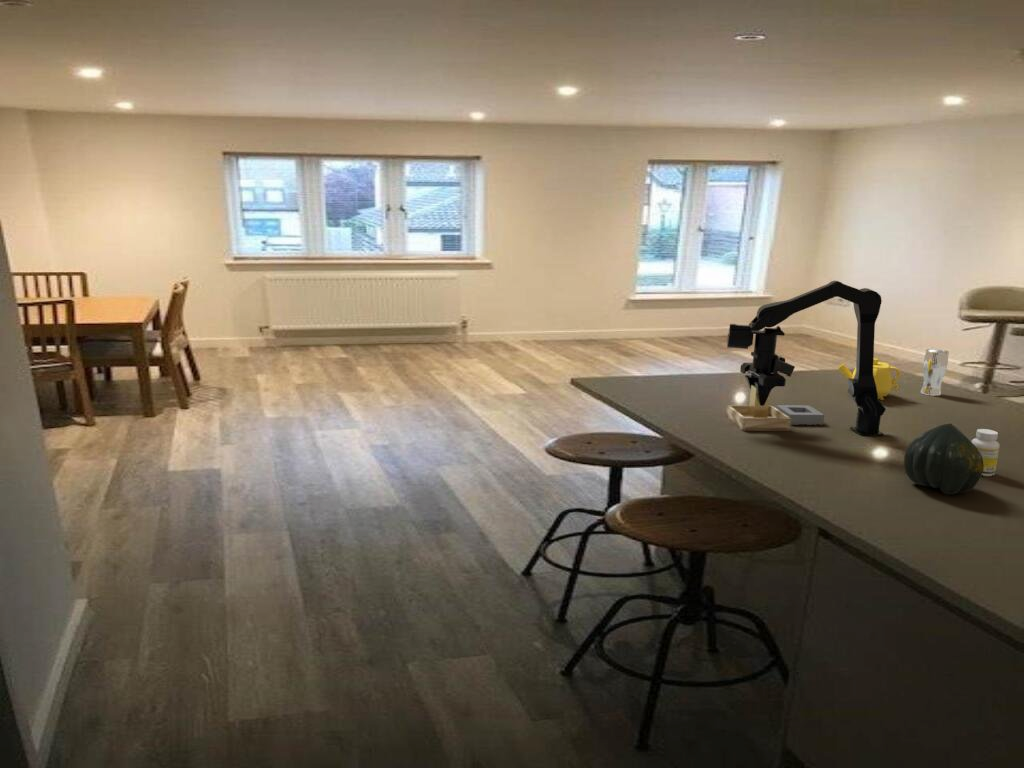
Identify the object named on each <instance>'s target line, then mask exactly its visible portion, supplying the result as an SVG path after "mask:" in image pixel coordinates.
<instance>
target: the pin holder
mask: <svg viewBox="0 0 1024 768" xmlns="http://www.w3.org/2000/svg"><path fill="white" fill-rule="evenodd" d="M775 408H776V409H778V410H779V411H781V412H782V413H784V414H785V415H787V416H788V417H790V418H791V426H792V425H793V426H794V425H795V426H796V425H797V426H799V424H807V426H811V425H812V424H814V425H812V426H817V425H816V424H821V425H820V426H823V425H824V420H825V414H824V413H822V412H820V411H819V410H817V409H815V408H814V407H812V406H810V405H802V404H801V405H793V404H792V405H790V404H789V405H786V404H785V405H779V404H778V405H775Z"/></svg>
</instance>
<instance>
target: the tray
mask: <svg viewBox="0 0 1024 768" xmlns="http://www.w3.org/2000/svg"><path fill="white" fill-rule="evenodd" d="M748 413H749V405H745V404H743V405H734V404H729V405H726V412H725V417H726V418H727V420H729V421H731V422H732V424H734V425H735V426H736V427H737V428H738V429H740V430H741V431H754V432H755V431H763V432H764V431H765V432H767V431H771V432H772V431H773V432H774V431H775V432H777V431H778V432H780V431H781V432H782V431H784V432H785V431H787V432H788V431H789V432H790V431H791V426H792V425H791V418H790V417H788V416H787V415H785V414H784V413H782V412H781V411H779V410H778V409H776V406H773V405H769V407H768V417H767V418H752V417H750V416H749V415H748Z"/></svg>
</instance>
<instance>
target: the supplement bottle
mask: <svg viewBox="0 0 1024 768" xmlns="http://www.w3.org/2000/svg"><path fill="white" fill-rule="evenodd" d="M998 435H999V432H997V431H995V430H992V429H987V428H978V429H976V433H975V436H976V437H974V438H973V439H972V440H970V441H971V442H972V443H973V444H974V445H975V446H976V448H977V449H978V451H979V452H980V454H981V456H982V458H983V465H984V469H983V473H982V475H983V477H992V475H993V476H994V475H995V474H996V468H997V464H998V463H997V462H998V457H999V453H1000V452H999V451H1000V446H1001V445H1000V443H999V442H998V441H997V440H998Z"/></svg>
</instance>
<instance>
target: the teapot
mask: <svg viewBox="0 0 1024 768" xmlns="http://www.w3.org/2000/svg"><path fill="white" fill-rule="evenodd" d="M837 370H838V371H839V372H841V374H842V375H843V376H844V377H845V378H846V379H847V380H848V378H852V379H854V376H855V374H856V367H855V368H854V370H853V373H852V372H851V370H850V369H848V367H847V366H846V365H845V364H844V363H843V364H841V365H840V366H839V365H838V367H837ZM892 370H893V371H896V376H895V377H894V379H893V376H892ZM873 376H874V380H875V383H876V388H877V394H878V399H880V400H879V401H884V400H885V398H884V397H887V396H888V395H889V394H890V392H891V391H896V390H898V388H899V385H898V383H897V381H898V380H899V378H900V376H901V371H900V369H899V368H897V367H895V366H890V364H889V363H888V362H883V361H880V359H879V358H877V357H876V358H875V357H874V361H873ZM894 386H895V387H894Z"/></svg>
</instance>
